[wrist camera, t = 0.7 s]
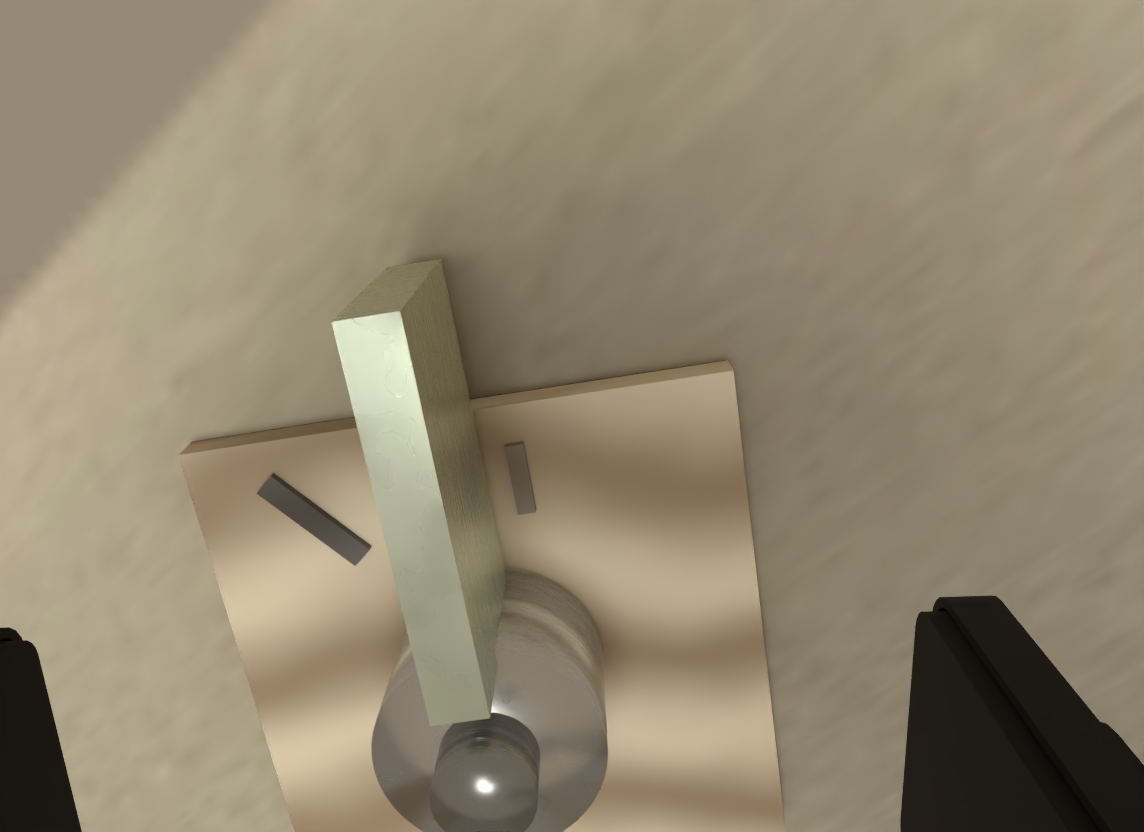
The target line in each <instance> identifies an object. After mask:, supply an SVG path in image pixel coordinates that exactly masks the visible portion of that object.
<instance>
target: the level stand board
mask: <svg viewBox="0 0 1144 832" xmlns="http://www.w3.org/2000/svg"><path fill="white" fill-rule="evenodd" d="M470 403H471V408H472V413H473V418H474V423H475V427H476V432H477V437H478V442H479V447H480V452H481V457H482V462H483V467H484V472H485V476H486V481H487V486H488V491H489V496H490V501H491V506H492V511H493V516H494V521H495V525H496V530H497V535H498V540H499V545H500V550H501V555H502V560H503V565H504V570H510V571H517V572H523V573H527V574H531V575H534V576H538V577H540V578H543V579H545V580H548V581H550V582H552V583H553V584H555V585H557V586H559V587H561V588H562V589H564V590H565V591H566V592H568V593H569V594H570V595H572V596H573V597H574V598H575V599H576V600H577V601H578V602H579V603H580V604H581V605H582V606H583V607H584V609H585V610H586V611H587V612H588V614H589V615H590V617H591V619H592V620H593V622H594V624H595V625H596V628H597V630H598V633H599V635H600V638H601V642H602V646H603V655H604V672H605V695H606V718H607V741H608V762H607V769H606V774H605V779H604V781H603V784H602V786H601V789H600V791H599V793H598V795H597V797H596V798H595V800H594V802H593V803H592V805H591V806H590V807H589V808H588V810H587V811H586V812H585V813H584V814H583V815H582V816H581V817H580V818H579V819H578V820H577V821H576V822H575V823H574V824H572V825H571V826H570V827H568V828H567V829H566V830H564V831H562V832H786V829H785V820H784V811H783V803H782V794H781V785H780V776H779V767H778V759H777V750H776V741H775V732H774V723H773V714H772V706H771V697H770V688H769V679H768V670H767V661H766V653H765V644H764V635H763V626H762V617H761V609H760V600H759V591H758V582H757V573H756V564H755V556H754V547H753V538H752V529H751V520H750V512H749V503H748V494H747V485H746V476H745V467H744V459H743V450H742V441H741V432H740V423H739V415H738V406H737V397H736V388H735V379H734V371H733V369H732V367H731V365H730V363H729V361H728V360H727V361H720V362H714V363H707V364H701V365H694V366H688V367H681V368H675V369H668V370H661V371H655V372H648V373H642V374H635V375H629V376H622V377H616V378H609V379H602V380H596V381H589V382H583V383H576V384H570V385H563V386H557V387H550V388H544V389H537V390H530V391H524V392H517V393H511V394H504V395H498V396H491V397H485V398H478V399H471V400H470ZM179 459H180V462H181V465H182V468H183V472H184V475H185V478H186V481H187V485H188V488H189V491H190V494H191V497H192V501H193V504H194V507H195V510H196V514H197V517H198V520H199V523H200V527H201V530H202V533H203V536H204V540H205V543H206V546H207V549H208V552H209V556H210V559H211V562H212V565H213V569H214V572H215V575H216V578H217V582H218V585H219V588H220V591H221V595H222V598H223V601H224V604H225V608H226V611H227V614H228V617H229V620H230V624H231V627H232V630H233V633H234V637H235V640H236V643H237V646H238V650H239V653H240V656H241V659H242V663H243V666H244V669H245V672H246V675H247V679H248V682H249V685H250V688H251V692H252V695H253V698H254V701H255V705H256V708H257V711H258V714H259V718H260V721H261V724H262V727H263V731H264V734H265V737H266V740H267V743H268V747H269V750H270V753H271V756H272V760H273V763H274V766H275V769H276V773H277V776H278V779H279V782H280V786H281V789H282V792H283V795H284V798H285V802H286V805H287V808H288V811H289V815H290V818H291V821H292V824H293V828H294V831H295V832H423V831H421V830H420V829H418V828H417V827H415V826H414V825H412V824H411V823H410V822H409V821H408V820H406V819H405V818H404V817H403V816H402V815H401V814H400V813H399V812H398V811H397V810H396V809H395V808H394V807H393V806H392V804H391V803H390V801H389V800H388V799H387V797H386V796H385V794H384V792H383V790H382V789H381V787H380V785H379V783H378V780H377V777H376V774H375V771H374V767H373V762H372V750H371V743H372V735H373V730H374V726H375V723H376V719H377V716H378V713H379V710H380V707H381V704H382V700H383V697H384V694H385V691H386V688H387V685H388V682H389V678H390V675H391V672H392V669H393V666H394V663H395V660H396V656H397V653H398V650H399V647H400V644H401V641H402V637H403V634H404V631H405V628H406V625H405V621H404V616H403V612H402V608H401V604H400V600H399V596H398V592H397V588H396V584H395V580H394V576H393V572H392V567H391V563H390V559H389V555H388V551H387V547H386V543H385V539H384V535H383V531H382V527H381V522H380V518H379V514H378V510H377V506H376V502H375V498H374V494H373V490H372V486H371V482H370V478H369V473H368V469H367V465H366V461H365V457H364V453H363V449H362V445H361V441H360V437H359V433H358V428H357V424H356V420H355V417H354V418H347V419H340V420H334V421H327V422H321V423H314V424H308V425H301V426H295V427H288V428H282V429H275V430H268V431H262V432H255V433H249V434H242V435H236V436H229V437H223V438H216V439H209V440H203V441H196V442H192V443H191V444H190V445H189V446H187V447H186V448H185V449H184V450H183V451H182V452H181V453H180V454H179Z"/></svg>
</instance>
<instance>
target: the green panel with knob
mask: <svg viewBox="0 0 1144 832" xmlns="http://www.w3.org/2000/svg"><path fill="white" fill-rule="evenodd" d="M332 326H333V330H334V334H335V339H336V343H337V347H338V351H339V355H340V359H341V363H342V367H343V371H344V375H345V379H346V384H347V388H348V392H349V396H350V400H351V404H352V408H353V412H354V416H355V420H356V424H357V428H358V433H359V437H360V441H361V445H362V449H363V453H364V457H365V461H366V465H367V469H368V473H369V478H370V482H371V486H372V490H373V494H374V498H375V502H376V506H377V510H378V514H379V518H380V522H381V527H382V531H383V535H384V539H385V543H386V547H387V551H388V555H389V559H390V563H391V567H392V572H393V576H394V580H395V584H396V588H397V592H398V596H399V600H400V604H401V608H402V612H403V616H404V621H405V625H406V628H405V631H404V634H403V637H402V641H401V644H400V647H399V650H398V653H397V656H396V660H395V663H394V666H393V669H392V672H391V675H390V678H389V682H388V685H387V688H386V691H385V694H384V697H383V700H382V704H381V707H380V710H379V713H378V716H377V719H376V723H375V726H374V730H373V735H372V743H371V750H372V762H373V767H374V771H375V774H376V777H377V780H378V783H379V785H380V787H381V789H382V790H383V792H384V794H385V796H386V797H387V799H388V800H389V801H390V803H391V804H392V806H393V807H394V808H395V809H396V810H397V811H398V812H399V813H400V814H401V815H402V816H403V817H404V818H405V819H406V820H408V821H409V822H410V823H411V824H412V825H414V826H415V827H417V828H418V829H420V830H421V831H423V832H562V831H564V830H566V829H567V828H568V827H570V826H571V825H572V824H574V823H575V822H576V821H577V820H578V819H579V818H580V817H581V816H582V815H583V814H584V813H585V812H586V811H587V810H588V808H589V807H590V806H591V805H592V803H593V802H594V800H595V798H596V797H597V795H598V793H599V791H600V789H601V786H602V784H603V781H604V779H605V774H606V769H607V762H608V741H607V718H606V695H605V672H604V655H603V646H602V642H601V638H600V635H599V633H598V630H597V628H596V625H595V624H594V622H593V620H592V619H591V617H590V615H589V614H588V612H587V611H586V610H585V609H584V607H583V606H582V605H581V604H580V603H579V602H578V601H577V600H576V599H575V598H574V597H573V596H572V595H570V594H569V593H568V592H566V591H565V590H564V589H562V588H561V587H559V586H557V585H555V584H553V583H552V582H550V581H548V580H545V579H543V578H540V577H538V576H534V575H531V574H527V573H523V572H517V571H510V570H504V565H503V560H502V555H501V550H500V545H499V540H498V535H497V530H496V525H495V521H494V516H493V511H492V506H491V501H490V496H489V491H488V486H487V481H486V476H485V472H484V467H483V462H482V457H481V452H480V447H479V442H478V437H477V432H476V427H475V423H474V418H473V413H472V408H471V403H470V398H469V393H468V388H467V383H466V378H465V374H464V369H463V364H462V359H461V354H460V349H459V344H458V339H457V334H456V329H455V325H454V320H453V315H452V310H451V305H450V300H449V295H448V290H447V285H446V280H445V276H444V271H443V266H442V261H441V259H436V260H430V261H424V262H418V263H411V264H405V265H399V266H393V267H388V268H387V269H386V270H385V271H384V272H382V273H381V274H380V275H379V276H378V277H377V278H376V279H375V280H374V281H373V282H372V283H371V284H370V285H369V286H368V287H367V288H366V289H365V290H364V291H363V292H362V293H361V294H360V295H359V296H358V297H357V298H356V299H355V300H354V301H353V302H351V303H350V304H349V305H348V306H347V307H346V308H345V309H344V310H343V311H342V312H341V313H340V314H339V315H338V316H337V317H336V318H335V319H334V320H333V321H332Z"/></svg>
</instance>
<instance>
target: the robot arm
mask: <svg viewBox="0 0 1144 832" xmlns="http://www.w3.org/2000/svg"><path fill="white" fill-rule="evenodd" d="M0 832H82V831H81V827H80V823H79V819H78V815H77V811H76V807H75V803H74V799H73V795H72V791H71V786H70V782H69V778H68V774H67V770H66V766H65V762H64V758H63V754H62V750H61V746H60V742H59V737H58V733H57V729H56V725H55V721H54V717H53V713H52V709H51V705H50V701H49V697H48V693H47V689H46V684H45V680H44V676H43V672H42V668H41V664H40V660H39V656H38V653H37V650H36V648H35V646H34V645H33V644H32V643H31V642H29V641H23V640H22V638H21V636H20V635H19V634H18V633H17V631H16V630H13V629H11V628H0ZM901 832H1144V765H1143V764H1142V763H1141V762H1140V760H1139V759H1138V758H1137V757H1136V755H1135V754H1134V753H1133V752H1132V751H1131V749H1130V748H1129V747H1128V746H1127V745H1126V743H1125V742H1124V741H1123V740H1122V739H1121V737H1120V736H1119V735H1118V734H1117V733H1116V732H1115V731H1114V730H1113V729H1112V728H1111V727H1110V726H1108V725H1107V724H1105V723H1102V722H1100V721H1099V720H1098V719H1097V718H1096V716H1095V715H1094V714H1093V713H1092V711H1091V710H1090V709H1089V708H1088V707H1087V705H1086V704H1085V703H1084V702H1083V700H1082V699H1081V698H1080V697H1079V695H1078V694H1077V693H1076V692H1075V691H1074V689H1073V688H1072V687H1071V686H1070V684H1069V683H1068V682H1067V681H1066V680H1065V678H1064V677H1063V676H1062V675H1061V673H1060V672H1059V671H1058V670H1057V668H1056V667H1055V666H1054V665H1053V664H1052V662H1051V661H1050V660H1049V659H1048V657H1047V656H1046V655H1045V654H1044V652H1043V651H1042V650H1041V649H1040V648H1039V646H1038V645H1037V644H1036V643H1035V641H1034V640H1033V639H1032V638H1031V637H1030V635H1029V634H1028V633H1027V632H1026V630H1025V629H1024V628H1023V627H1022V625H1021V624H1020V623H1019V622H1018V621H1017V619H1016V618H1015V617H1014V616H1013V614H1012V613H1011V612H1010V611H1009V610H1008V608H1007V607H1006V606H1005V605H1004V603H1003V602H1002V601H1001V600H1000V599H999V598H998V597H996V596H965V597H939V598H938V599H937V600H936V602H935V605H934V607H933V611H931V612H920V613H919V615H918V617H917V620H916V627H915V640H914V653H913V666H912V679H911V692H910V705H909V718H908V731H907V744H906V757H905V770H904V783H903V796H902V809H901Z"/></svg>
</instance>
